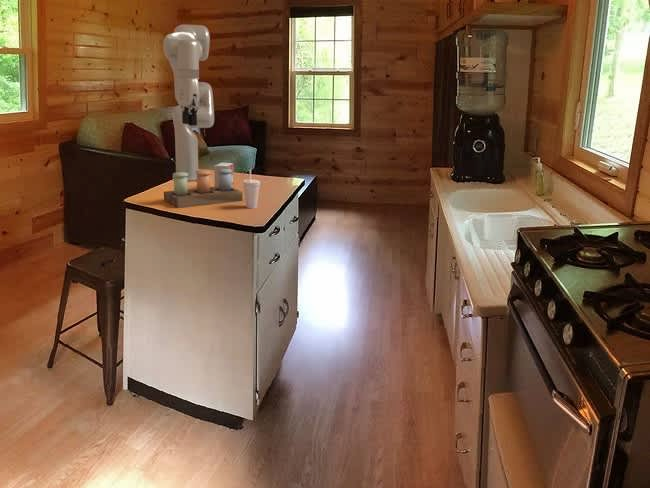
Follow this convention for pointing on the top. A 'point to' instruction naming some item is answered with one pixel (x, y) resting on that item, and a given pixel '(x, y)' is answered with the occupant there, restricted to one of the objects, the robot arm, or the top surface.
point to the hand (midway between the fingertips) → (189, 124)
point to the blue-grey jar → (224, 179)
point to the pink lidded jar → (203, 181)
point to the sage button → (180, 184)
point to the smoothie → (251, 192)
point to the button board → (202, 197)
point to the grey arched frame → (224, 166)
